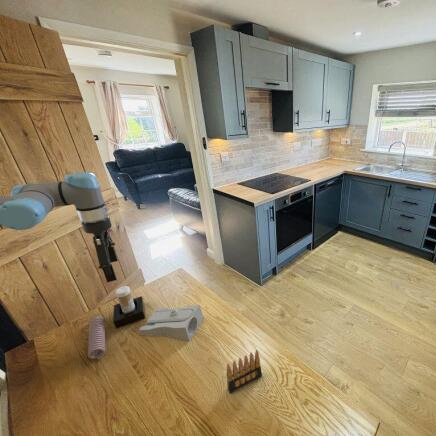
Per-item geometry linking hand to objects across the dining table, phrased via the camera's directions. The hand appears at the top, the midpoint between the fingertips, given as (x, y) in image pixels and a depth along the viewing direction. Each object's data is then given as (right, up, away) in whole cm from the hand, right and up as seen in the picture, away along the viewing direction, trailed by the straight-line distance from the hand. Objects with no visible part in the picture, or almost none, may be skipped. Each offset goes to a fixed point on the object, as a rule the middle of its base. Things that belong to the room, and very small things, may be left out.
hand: (112, 270), depth 89 cm
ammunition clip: (+52, -32, -14) cm, 63 cm away
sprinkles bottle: (0, -21, +10) cm, 23 cm away
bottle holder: (0, -21, +10) cm, 23 cm away
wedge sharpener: (+20, -23, +5) cm, 31 cm away
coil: (-4, -26, -1) cm, 26 cm away
